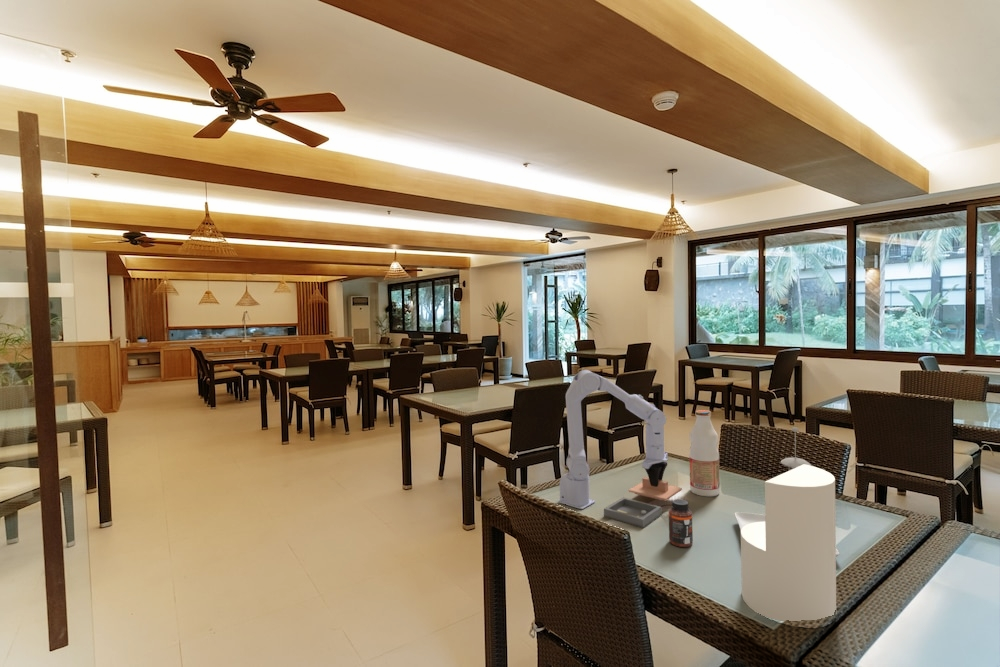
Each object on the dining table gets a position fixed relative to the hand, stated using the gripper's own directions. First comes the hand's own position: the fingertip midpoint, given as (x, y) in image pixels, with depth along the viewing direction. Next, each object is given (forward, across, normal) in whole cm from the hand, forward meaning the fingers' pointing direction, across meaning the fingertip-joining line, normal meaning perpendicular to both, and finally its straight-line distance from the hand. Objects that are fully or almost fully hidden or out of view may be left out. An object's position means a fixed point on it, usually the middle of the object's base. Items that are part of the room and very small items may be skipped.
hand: (655, 484), depth 161 cm
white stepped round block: (+5, -36, -46) cm, 59 cm away
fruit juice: (+5, +17, -10) cm, 20 cm away
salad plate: (+6, -6, -38) cm, 39 cm away
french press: (+6, +23, -36) cm, 43 cm away
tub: (+5, -16, 0) cm, 17 cm away
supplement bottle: (+5, -24, -18) cm, 31 cm away
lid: (+2, 0, 0) cm, 2 cm away
